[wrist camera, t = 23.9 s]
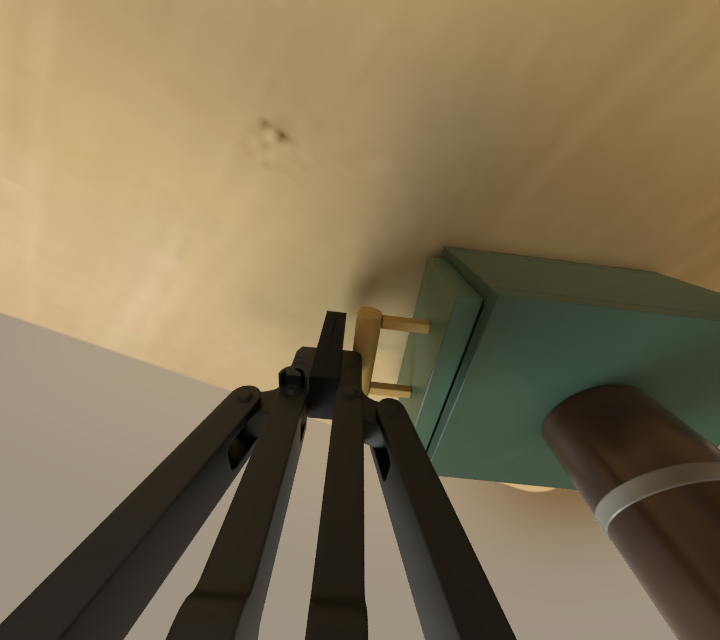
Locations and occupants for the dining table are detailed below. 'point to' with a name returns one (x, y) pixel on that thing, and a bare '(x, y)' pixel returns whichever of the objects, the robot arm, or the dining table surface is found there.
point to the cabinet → (569, 358)
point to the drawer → (424, 344)
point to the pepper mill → (648, 496)
